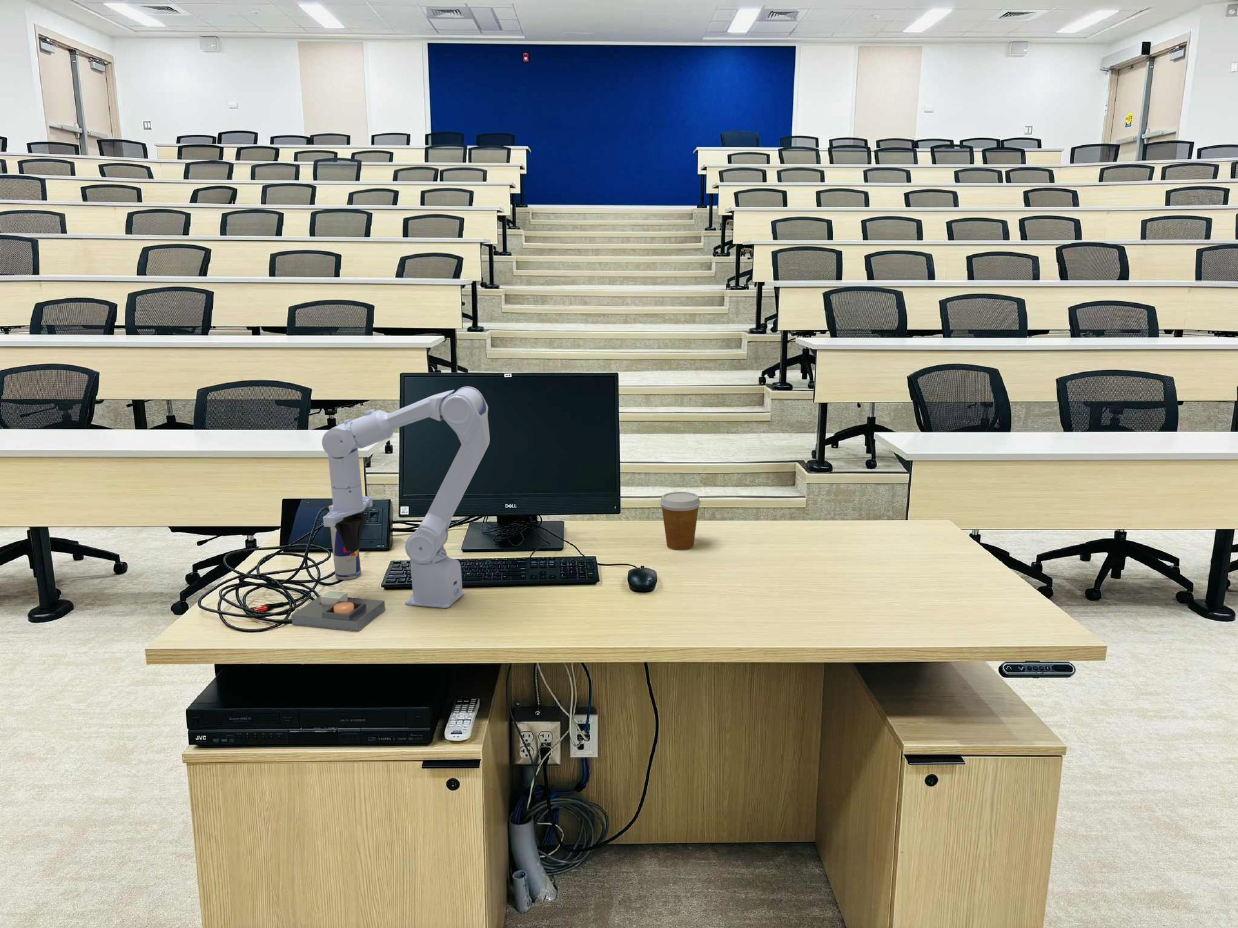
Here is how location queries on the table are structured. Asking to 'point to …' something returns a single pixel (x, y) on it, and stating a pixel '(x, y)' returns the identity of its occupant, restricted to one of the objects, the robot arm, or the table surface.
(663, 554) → the table surface
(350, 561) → the energy drink
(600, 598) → the table surface
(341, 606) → the button
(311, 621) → the panel
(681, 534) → the disposable coffee cup
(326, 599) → the on key
